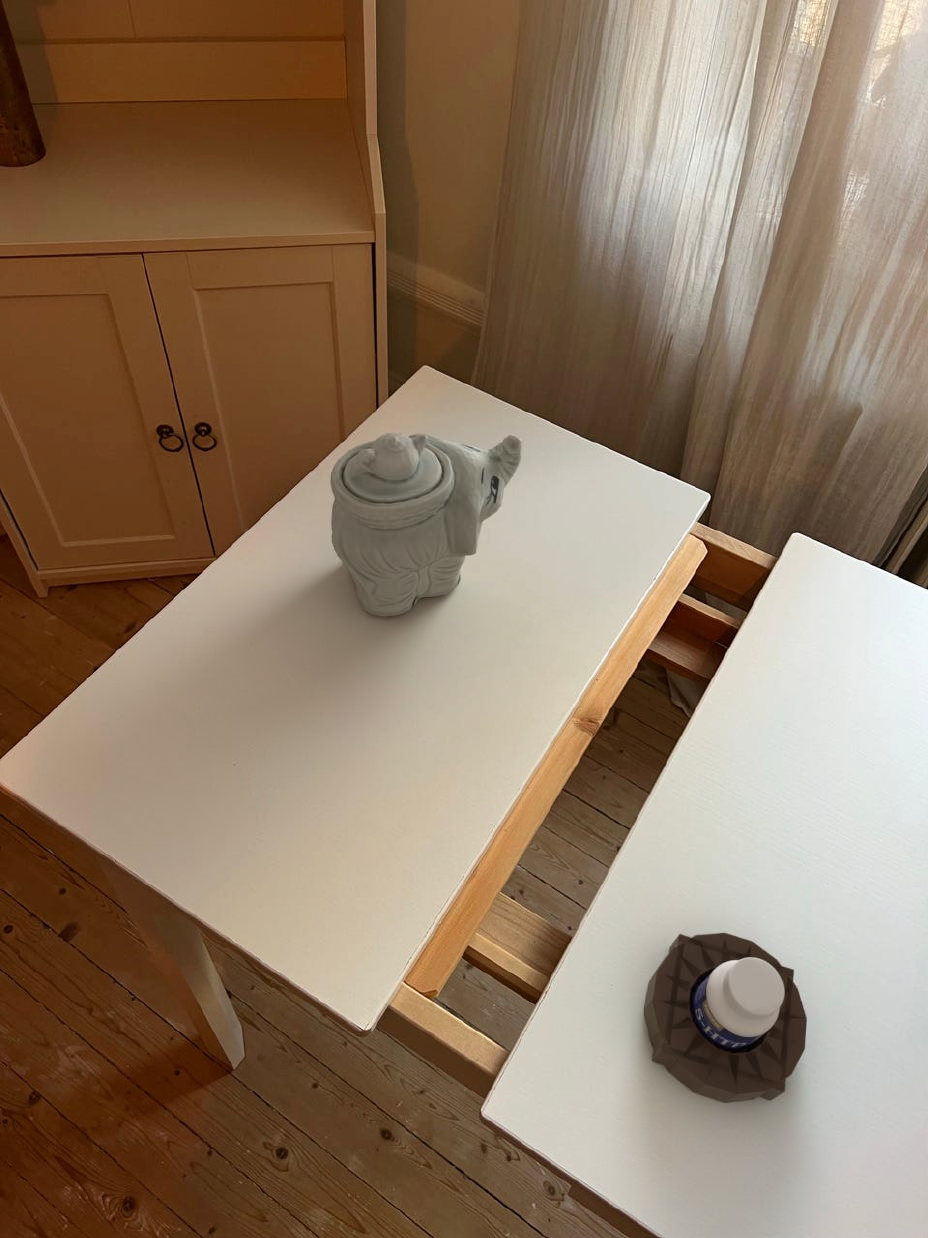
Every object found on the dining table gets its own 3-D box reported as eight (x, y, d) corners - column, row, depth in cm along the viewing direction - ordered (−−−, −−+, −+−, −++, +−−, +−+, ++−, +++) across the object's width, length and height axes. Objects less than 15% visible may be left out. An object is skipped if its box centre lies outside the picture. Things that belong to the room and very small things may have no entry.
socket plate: (657, 927, 78) (666, 914, 75) (796, 971, 76) (810, 959, 74) (632, 1073, 71) (642, 1063, 68) (785, 1123, 70) (800, 1115, 67)
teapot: (508, 533, 103) (533, 394, 88) (484, 644, 93) (508, 509, 79) (358, 504, 103) (357, 361, 89) (320, 611, 94) (313, 472, 79)
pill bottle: (672, 1027, 73) (705, 993, 66) (702, 971, 76) (737, 932, 69) (735, 1072, 71) (776, 1041, 64) (763, 1012, 74) (805, 977, 67)
